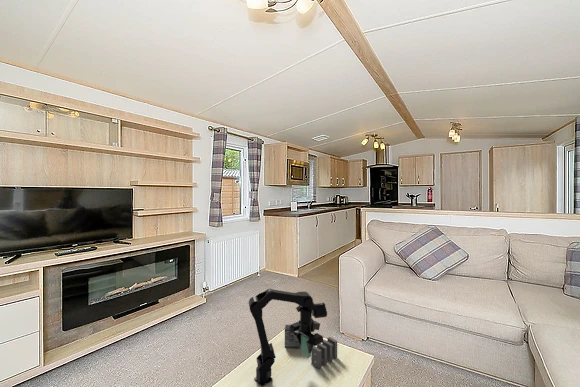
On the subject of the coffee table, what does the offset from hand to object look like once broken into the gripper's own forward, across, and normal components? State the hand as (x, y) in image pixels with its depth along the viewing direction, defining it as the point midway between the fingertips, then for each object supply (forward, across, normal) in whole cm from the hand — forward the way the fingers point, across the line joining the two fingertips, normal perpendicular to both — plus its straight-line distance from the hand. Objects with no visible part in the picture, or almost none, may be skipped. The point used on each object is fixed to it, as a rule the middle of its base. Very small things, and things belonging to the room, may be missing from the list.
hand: (305, 350), depth 129 cm
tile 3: (+11, 0, -12) cm, 16 cm away
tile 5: (+11, 0, -20) cm, 23 cm away
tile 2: (+11, 0, -8) cm, 13 cm away
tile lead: (+2, 0, 0) cm, 2 cm away
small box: (+11, +21, -11) cm, 27 cm away
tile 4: (+11, 0, -16) cm, 19 cm away
